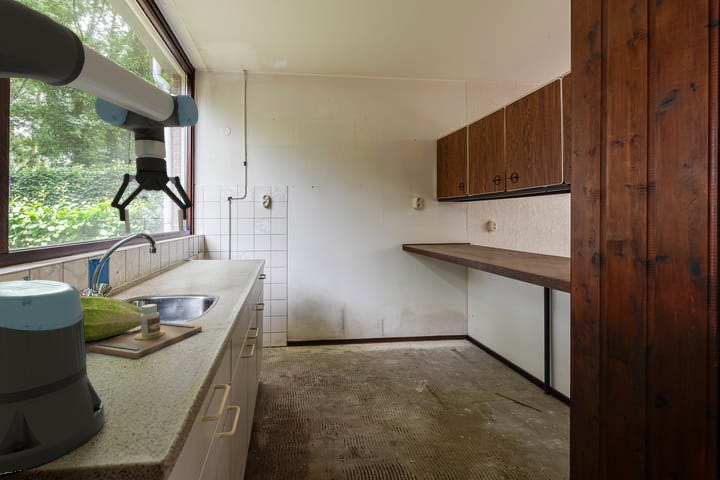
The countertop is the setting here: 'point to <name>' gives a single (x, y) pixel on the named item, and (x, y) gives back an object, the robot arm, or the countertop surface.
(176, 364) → the countertop surface
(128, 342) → the cutting board
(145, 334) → the pill bottle
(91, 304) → the green papaya
